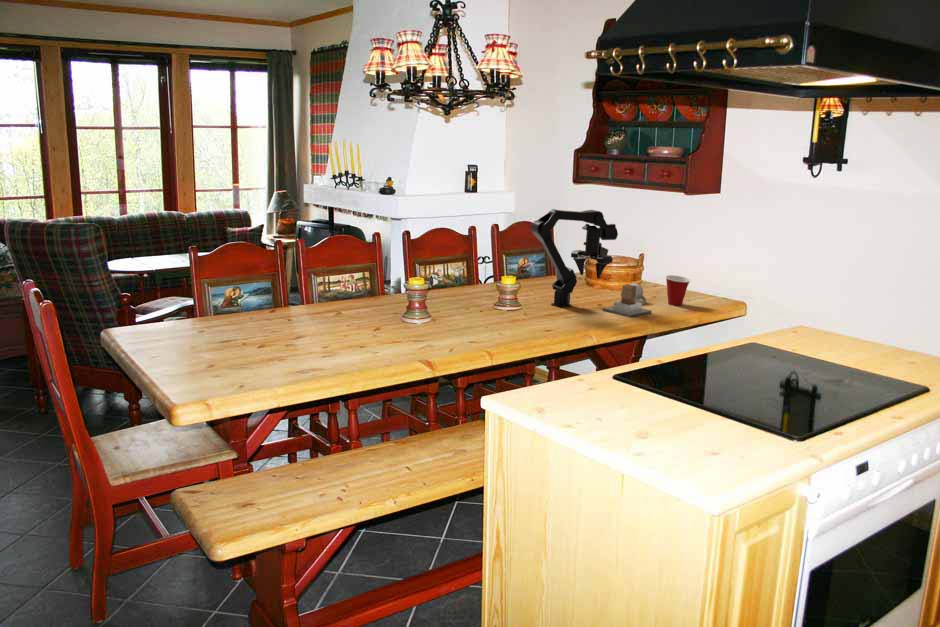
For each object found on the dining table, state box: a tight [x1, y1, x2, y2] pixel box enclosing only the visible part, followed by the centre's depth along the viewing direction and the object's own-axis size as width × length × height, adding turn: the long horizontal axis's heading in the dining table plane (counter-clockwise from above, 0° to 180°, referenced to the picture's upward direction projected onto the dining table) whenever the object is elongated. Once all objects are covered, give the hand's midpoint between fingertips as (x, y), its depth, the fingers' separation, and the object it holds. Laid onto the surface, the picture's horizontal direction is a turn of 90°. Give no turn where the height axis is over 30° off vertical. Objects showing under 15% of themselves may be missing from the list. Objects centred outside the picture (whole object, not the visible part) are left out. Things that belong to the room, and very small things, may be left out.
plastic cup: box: [665, 275, 692, 307], centre depth 334 cm, size 11×11×12 cm
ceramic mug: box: [620, 282, 647, 305], centre depth 337 cm, size 11×8×8 cm
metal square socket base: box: [602, 300, 652, 318], centre depth 318 cm, size 14×14×4 cm
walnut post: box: [620, 284, 636, 305], centre depth 317 cm, size 4×4×10 cm
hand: (589, 276), depth 327 cm, fingers open, 9 cm apart
